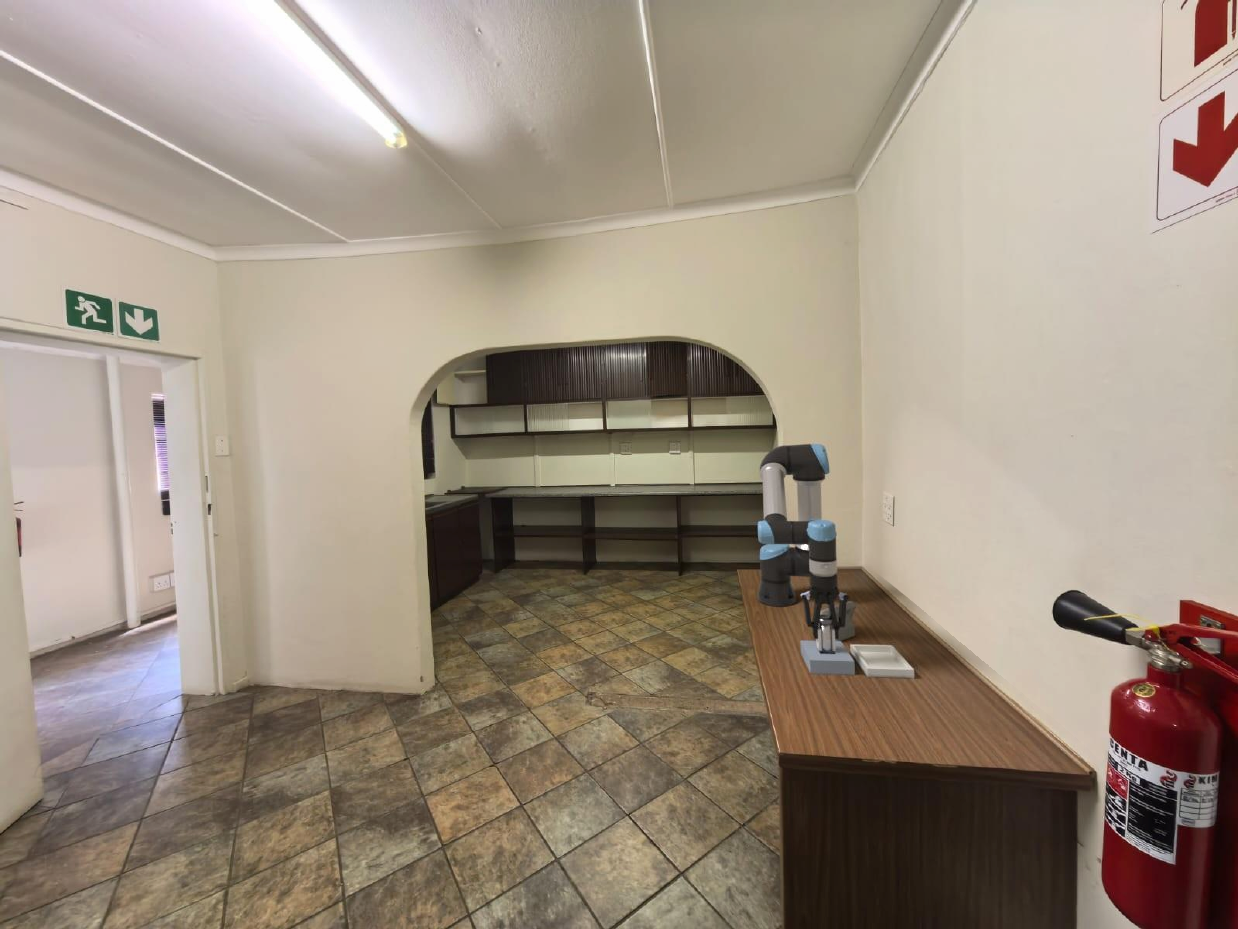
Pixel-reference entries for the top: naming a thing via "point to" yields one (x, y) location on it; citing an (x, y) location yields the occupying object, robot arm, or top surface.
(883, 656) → the tray
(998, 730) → the top surface
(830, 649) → the pin
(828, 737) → the top surface
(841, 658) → the socket block
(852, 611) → the digital clock
